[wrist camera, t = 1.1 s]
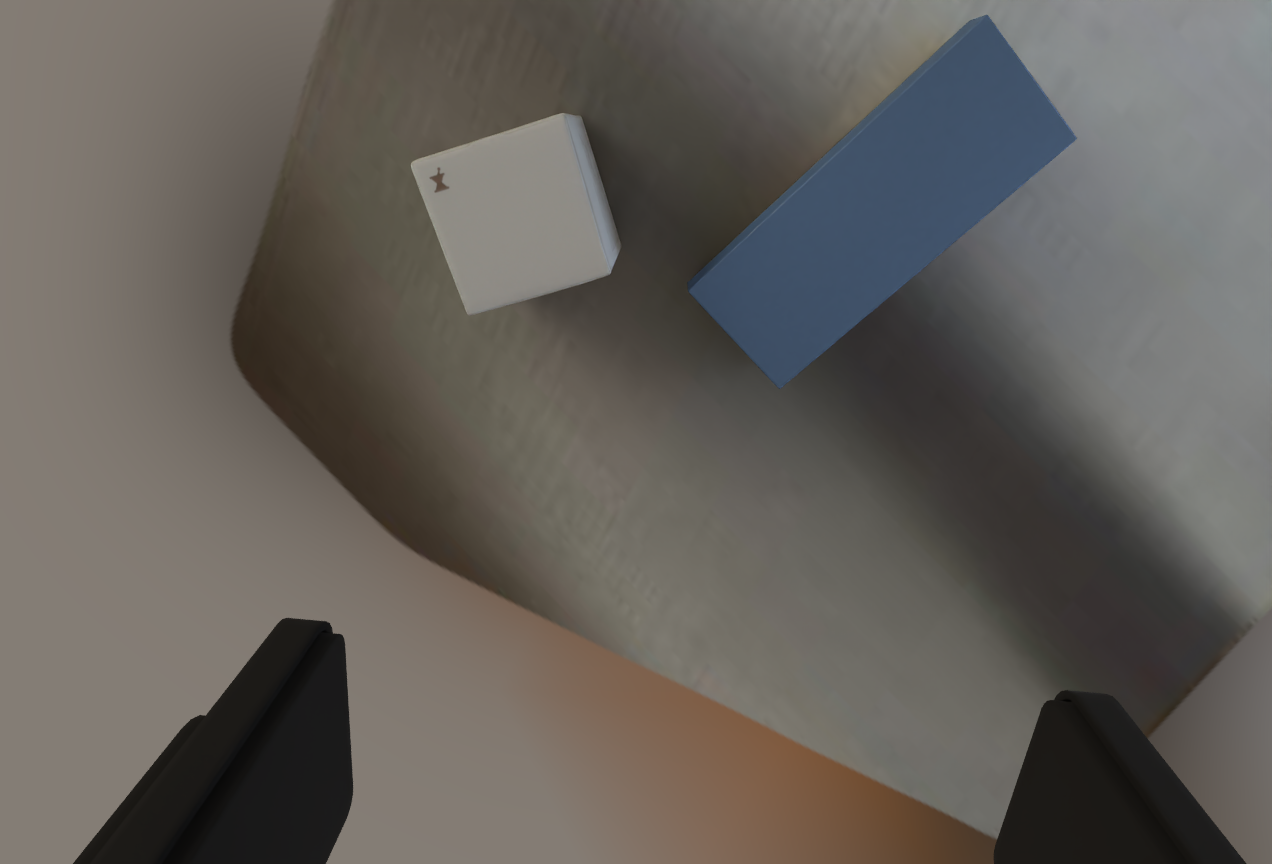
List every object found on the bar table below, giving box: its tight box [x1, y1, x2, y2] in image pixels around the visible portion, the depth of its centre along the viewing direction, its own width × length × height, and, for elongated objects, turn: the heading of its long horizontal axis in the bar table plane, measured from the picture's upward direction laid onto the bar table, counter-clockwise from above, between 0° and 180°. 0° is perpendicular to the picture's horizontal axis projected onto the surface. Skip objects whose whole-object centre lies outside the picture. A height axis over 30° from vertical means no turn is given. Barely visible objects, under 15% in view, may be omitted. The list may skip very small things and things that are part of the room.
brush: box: [687, 15, 1077, 389], centre depth 34 cm, size 15×6×4 cm, turn 134°
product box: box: [411, 113, 621, 315], centre depth 32 cm, size 6×6×7 cm
